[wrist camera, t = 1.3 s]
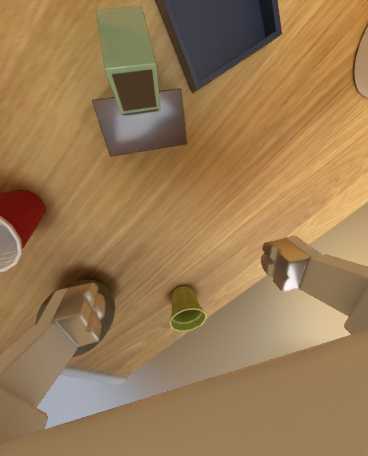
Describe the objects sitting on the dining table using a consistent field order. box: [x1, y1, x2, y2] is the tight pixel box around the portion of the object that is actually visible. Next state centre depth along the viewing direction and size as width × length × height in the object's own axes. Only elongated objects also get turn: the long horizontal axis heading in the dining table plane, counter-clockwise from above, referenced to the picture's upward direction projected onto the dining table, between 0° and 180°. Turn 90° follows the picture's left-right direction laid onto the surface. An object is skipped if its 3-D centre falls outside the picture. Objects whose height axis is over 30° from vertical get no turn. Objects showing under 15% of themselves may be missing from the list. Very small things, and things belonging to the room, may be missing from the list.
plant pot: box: [170, 286, 206, 331], centre depth 47 cm, size 9×9×9 cm
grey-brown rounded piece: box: [36, 280, 115, 357], centre depth 37 cm, size 14×14×15 cm
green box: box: [96, 6, 161, 114], centre depth 21 cm, size 10×5×10 cm, turn 7°
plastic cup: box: [0, 190, 45, 272], centre depth 26 cm, size 11×11×12 cm
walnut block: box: [92, 89, 187, 156], centre depth 27 cm, size 7×12×4 cm, turn 98°
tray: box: [155, 0, 282, 93], centre depth 22 cm, size 13×13×3 cm
